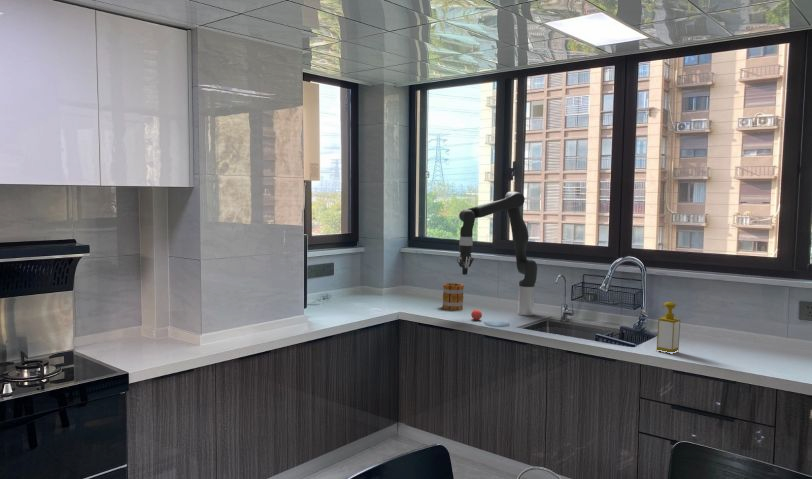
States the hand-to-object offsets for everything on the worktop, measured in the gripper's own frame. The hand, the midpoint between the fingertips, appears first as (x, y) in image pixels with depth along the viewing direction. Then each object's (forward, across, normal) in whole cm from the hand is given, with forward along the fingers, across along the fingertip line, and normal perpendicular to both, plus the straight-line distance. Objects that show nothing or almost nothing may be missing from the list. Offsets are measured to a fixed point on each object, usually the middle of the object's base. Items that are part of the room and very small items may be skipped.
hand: (464, 274), depth 350 cm
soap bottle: (+25, +10, -112) cm, 115 cm away
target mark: (+25, 0, -24) cm, 34 cm away
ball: (+22, 0, -10) cm, 24 cm away
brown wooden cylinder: (+25, +20, +24) cm, 40 cm away
